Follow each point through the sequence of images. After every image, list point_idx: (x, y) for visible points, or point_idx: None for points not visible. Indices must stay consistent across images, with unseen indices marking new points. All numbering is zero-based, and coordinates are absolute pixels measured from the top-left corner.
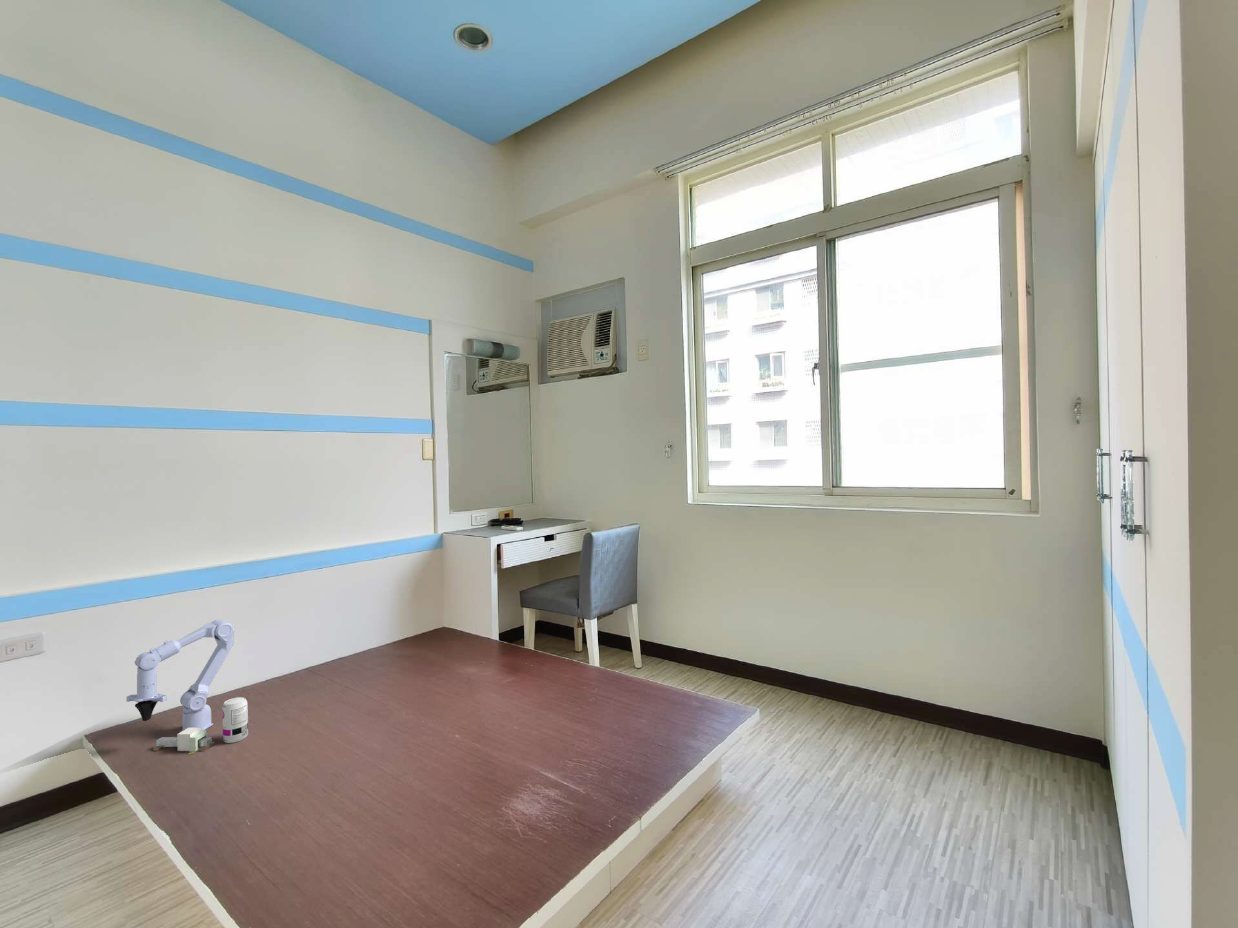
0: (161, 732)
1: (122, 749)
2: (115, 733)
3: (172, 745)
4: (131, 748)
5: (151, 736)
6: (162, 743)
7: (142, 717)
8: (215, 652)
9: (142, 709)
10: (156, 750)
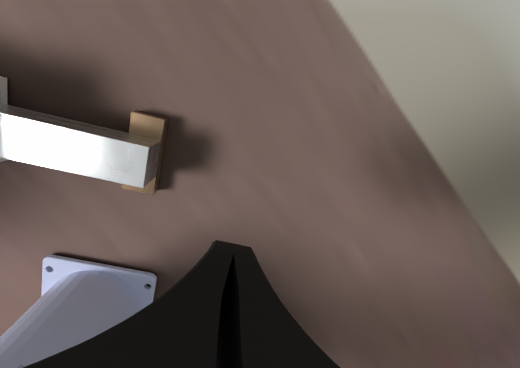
0: None
1: (354, 179)
2: (465, 347)
3: (48, 115)
4: (312, 180)
5: (284, 289)
6: (112, 133)
7: (249, 261)
8: None
9: (235, 344)
10: (149, 114)
